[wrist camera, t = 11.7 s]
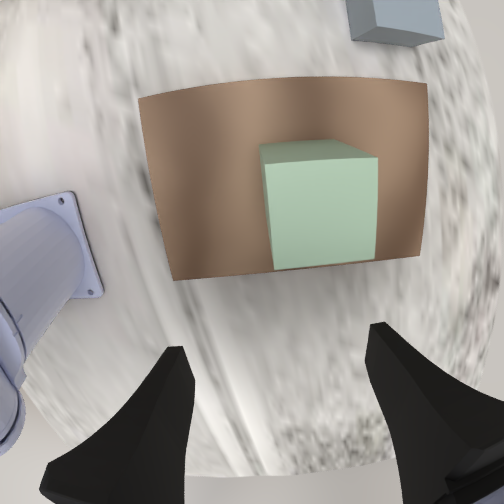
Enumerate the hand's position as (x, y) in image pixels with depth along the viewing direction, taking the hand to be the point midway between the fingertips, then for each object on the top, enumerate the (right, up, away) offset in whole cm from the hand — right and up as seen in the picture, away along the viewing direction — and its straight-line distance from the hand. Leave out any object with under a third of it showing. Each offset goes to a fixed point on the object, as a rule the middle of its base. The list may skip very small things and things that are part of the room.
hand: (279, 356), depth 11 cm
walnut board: (+2, +8, +6) cm, 11 cm away
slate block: (+6, +18, +2) cm, 19 cm away
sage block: (+2, +8, +5) cm, 9 cm away
